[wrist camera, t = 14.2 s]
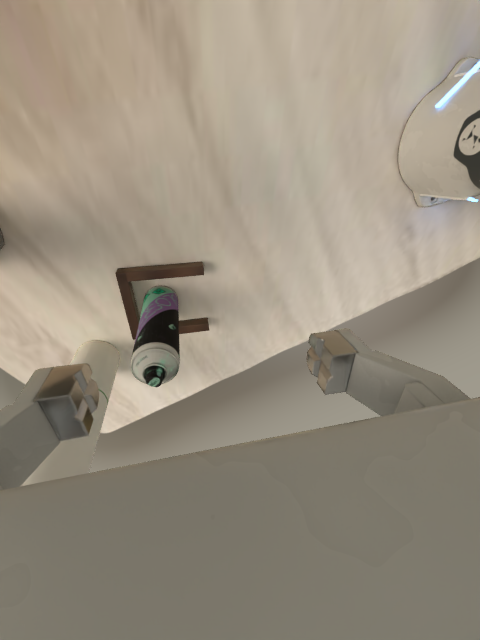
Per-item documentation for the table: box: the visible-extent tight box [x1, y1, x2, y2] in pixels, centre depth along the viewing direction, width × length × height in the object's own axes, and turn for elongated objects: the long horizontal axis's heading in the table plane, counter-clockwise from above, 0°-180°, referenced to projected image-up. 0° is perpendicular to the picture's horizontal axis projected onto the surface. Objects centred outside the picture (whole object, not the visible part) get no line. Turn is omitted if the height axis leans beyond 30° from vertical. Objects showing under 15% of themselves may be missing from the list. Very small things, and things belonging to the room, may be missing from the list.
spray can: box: [131, 285, 180, 387], centre depth 38 cm, size 6×6×20 cm
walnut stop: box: [116, 262, 209, 340], centre depth 45 cm, size 13×12×2 cm
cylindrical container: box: [21, 340, 120, 486], centre depth 39 cm, size 7×7×25 cm
